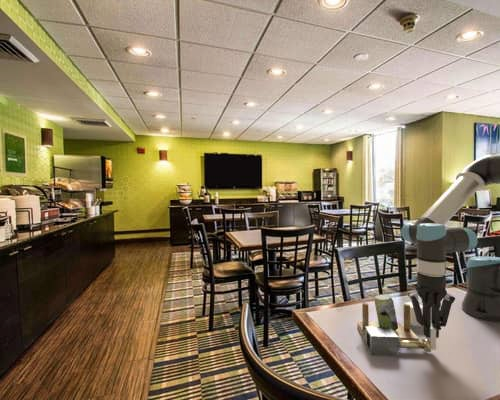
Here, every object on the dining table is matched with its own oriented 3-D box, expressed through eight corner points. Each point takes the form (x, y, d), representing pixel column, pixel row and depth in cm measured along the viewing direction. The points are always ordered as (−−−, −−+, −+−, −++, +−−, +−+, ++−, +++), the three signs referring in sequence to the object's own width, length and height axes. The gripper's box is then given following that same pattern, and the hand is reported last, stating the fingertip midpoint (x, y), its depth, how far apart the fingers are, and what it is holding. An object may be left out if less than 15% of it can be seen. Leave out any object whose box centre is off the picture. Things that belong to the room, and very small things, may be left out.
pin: (424, 347, 85) (424, 336, 85) (431, 354, 81) (431, 343, 81) (390, 346, 86) (390, 335, 86) (395, 352, 83) (395, 341, 82)
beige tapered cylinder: (423, 320, 103) (423, 302, 103) (426, 328, 97) (426, 309, 97) (403, 317, 106) (402, 299, 106) (405, 325, 100) (404, 306, 100)
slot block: (390, 345, 87) (390, 327, 87) (398, 356, 81) (398, 337, 81) (365, 344, 88) (365, 326, 88) (371, 355, 82) (371, 336, 82)
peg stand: (405, 328, 98) (404, 299, 97) (418, 344, 88) (418, 311, 87) (357, 326, 100) (357, 298, 99) (365, 341, 90) (365, 310, 89)
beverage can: (400, 334, 90) (400, 300, 89) (377, 333, 91) (377, 299, 91) (394, 325, 96) (394, 293, 96) (372, 324, 97) (372, 292, 97)
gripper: (446, 269, 85) (446, 341, 86) (403, 269, 87) (403, 339, 87) (461, 277, 78) (461, 355, 78) (414, 276, 79) (415, 353, 80)
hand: (431, 346), depth 83 cm, fingers closed
